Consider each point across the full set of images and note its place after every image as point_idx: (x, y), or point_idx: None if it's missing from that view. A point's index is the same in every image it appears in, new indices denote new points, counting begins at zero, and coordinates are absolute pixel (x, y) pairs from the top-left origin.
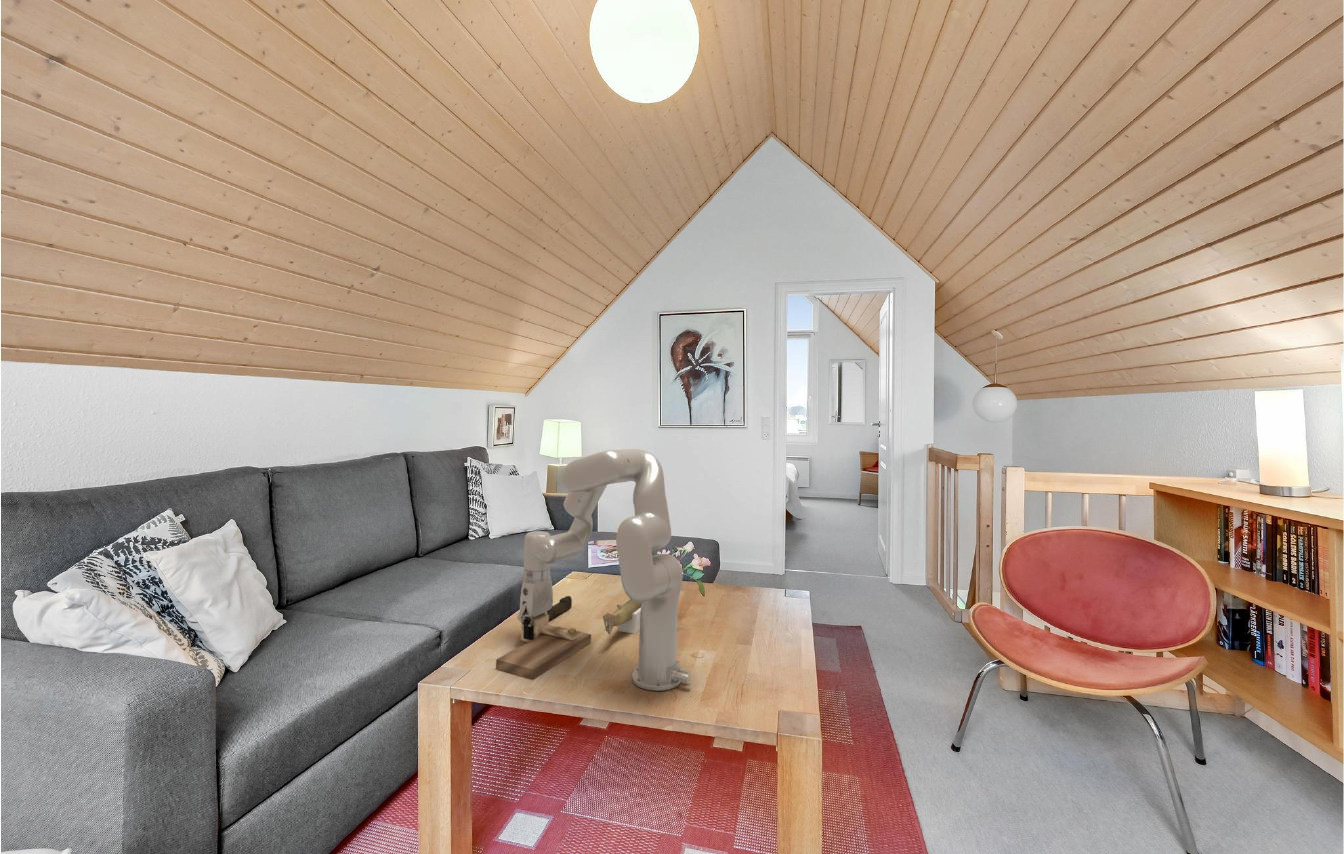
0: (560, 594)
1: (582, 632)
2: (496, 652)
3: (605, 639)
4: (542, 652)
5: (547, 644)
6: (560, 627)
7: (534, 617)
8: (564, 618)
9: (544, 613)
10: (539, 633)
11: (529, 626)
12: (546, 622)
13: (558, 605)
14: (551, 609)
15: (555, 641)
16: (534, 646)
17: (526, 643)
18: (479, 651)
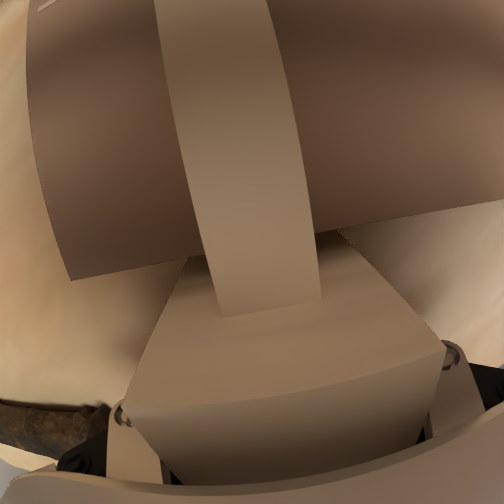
0: (2, 453)
1: (29, 24)
2: (496, 305)
3: (3, 5)
4: (497, 9)
5: (424, 31)
6: (61, 243)
7: (366, 449)
8: (6, 371)
9: (160, 463)
10: (329, 260)
11: (450, 344)
12: (198, 331)
13: (4, 434)
14: (35, 443)
15: (337, 4)
16: (497, 105)
17: (496, 196)
18: (497, 354)
